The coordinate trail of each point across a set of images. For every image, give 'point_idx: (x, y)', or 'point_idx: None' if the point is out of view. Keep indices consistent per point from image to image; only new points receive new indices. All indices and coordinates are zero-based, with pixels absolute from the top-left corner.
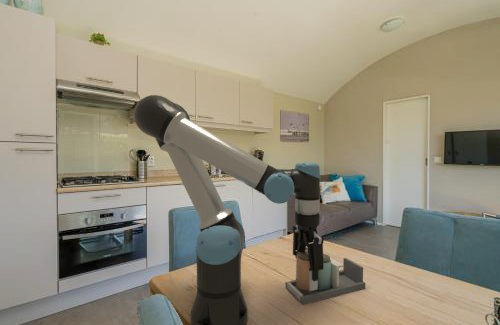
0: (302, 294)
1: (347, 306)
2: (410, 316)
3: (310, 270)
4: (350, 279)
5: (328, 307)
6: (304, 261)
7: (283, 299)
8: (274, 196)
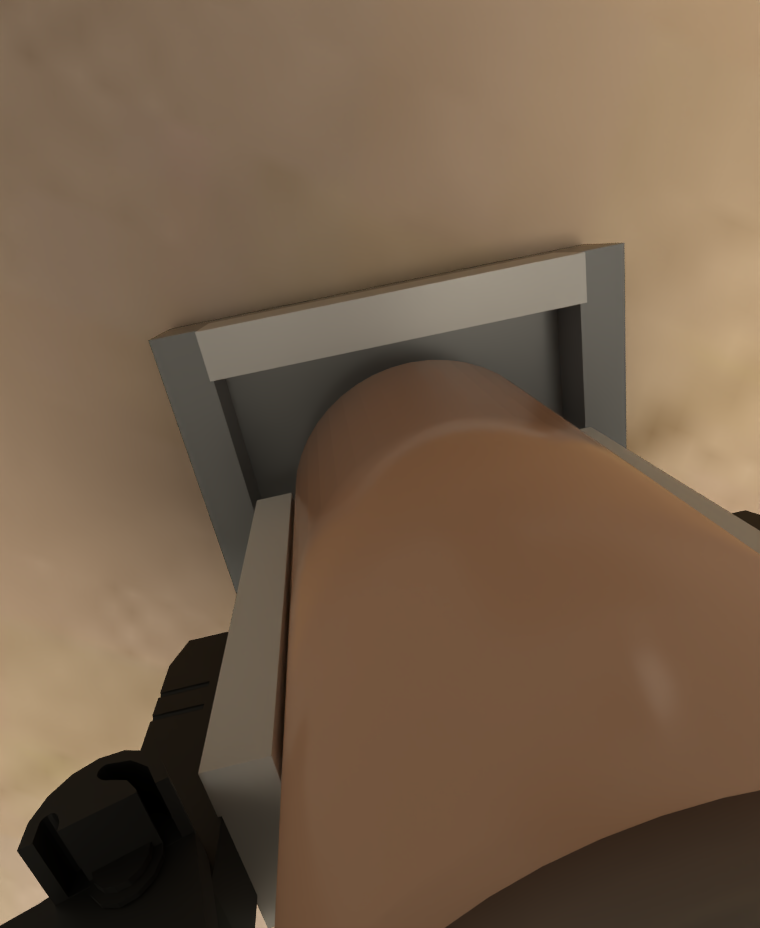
0: (225, 375)
1: (119, 741)
2: None
3: (59, 792)
4: None
5: (106, 587)
6: (328, 920)
7: (318, 104)
8: None
